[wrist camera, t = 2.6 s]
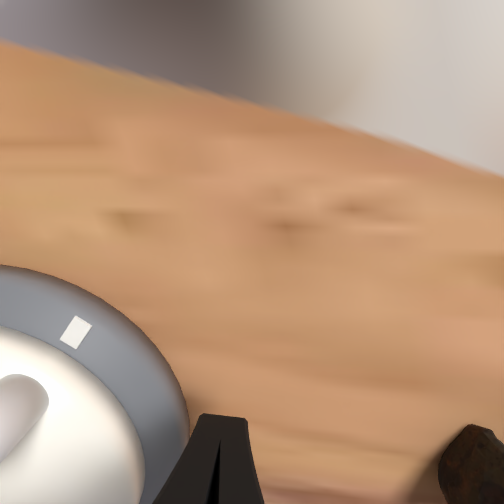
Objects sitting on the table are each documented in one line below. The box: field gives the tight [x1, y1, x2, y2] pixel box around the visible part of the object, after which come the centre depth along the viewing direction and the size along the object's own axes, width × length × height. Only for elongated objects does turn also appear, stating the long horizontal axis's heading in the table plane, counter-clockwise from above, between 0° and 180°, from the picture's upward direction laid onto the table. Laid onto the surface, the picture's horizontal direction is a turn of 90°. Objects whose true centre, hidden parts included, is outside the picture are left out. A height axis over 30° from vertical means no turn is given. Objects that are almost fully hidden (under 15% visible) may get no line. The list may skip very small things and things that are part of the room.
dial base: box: [0, 265, 190, 504], centre depth 14 cm, size 16×16×2 cm
